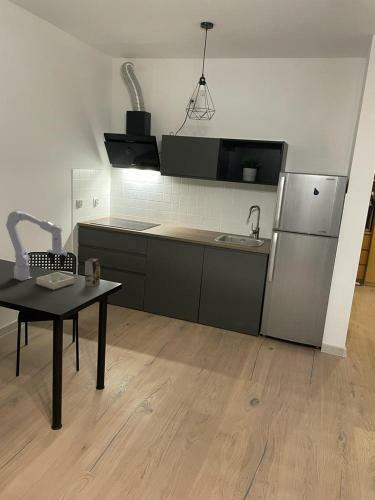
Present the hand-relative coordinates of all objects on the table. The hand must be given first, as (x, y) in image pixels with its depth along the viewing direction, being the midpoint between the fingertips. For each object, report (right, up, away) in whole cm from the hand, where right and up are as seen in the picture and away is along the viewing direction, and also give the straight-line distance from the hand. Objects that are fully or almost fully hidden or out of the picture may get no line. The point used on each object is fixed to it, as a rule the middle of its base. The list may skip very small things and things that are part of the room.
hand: (57, 264), depth 237 cm
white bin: (+2, -12, -7) cm, 14 cm away
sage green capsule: (+1, -11, -7) cm, 13 cm away
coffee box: (+24, -12, -3) cm, 27 cm away
